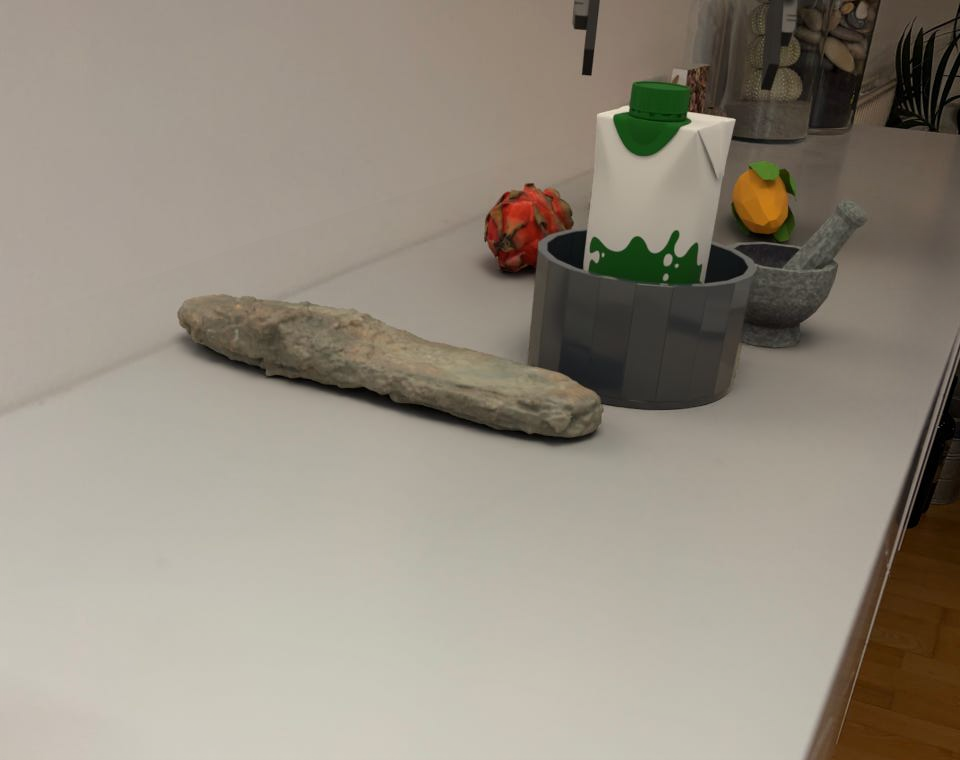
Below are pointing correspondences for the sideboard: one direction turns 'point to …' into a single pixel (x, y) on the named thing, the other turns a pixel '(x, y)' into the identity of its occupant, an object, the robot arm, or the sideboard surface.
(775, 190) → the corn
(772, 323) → the mortar and pestle
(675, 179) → the milk carton
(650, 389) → the pot
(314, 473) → the sideboard surface
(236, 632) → the sideboard surface
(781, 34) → the robot arm
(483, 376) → the long grey stone
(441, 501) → the sideboard surface
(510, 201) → the dragon fruit
